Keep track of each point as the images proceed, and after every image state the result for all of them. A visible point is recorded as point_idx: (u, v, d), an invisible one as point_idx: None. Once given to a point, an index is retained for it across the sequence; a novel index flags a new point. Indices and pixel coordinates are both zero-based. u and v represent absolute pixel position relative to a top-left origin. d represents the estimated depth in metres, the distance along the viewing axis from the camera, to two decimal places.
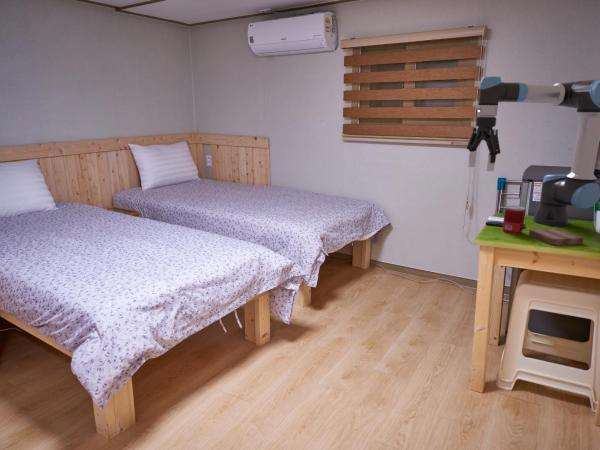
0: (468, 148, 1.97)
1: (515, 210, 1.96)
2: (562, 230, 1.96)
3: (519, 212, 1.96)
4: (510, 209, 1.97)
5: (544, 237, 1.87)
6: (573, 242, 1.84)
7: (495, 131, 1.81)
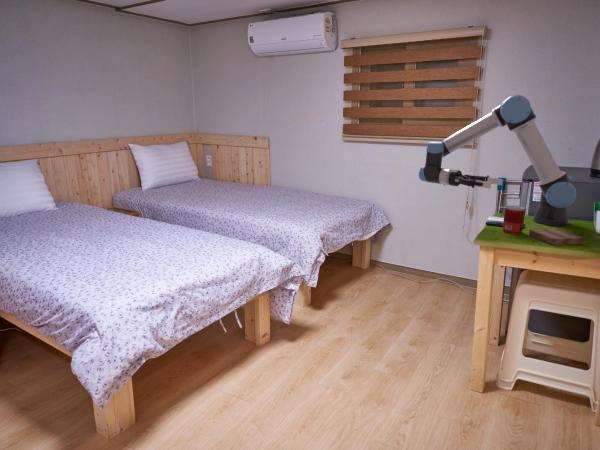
0: None
1: (515, 210, 1.96)
2: (562, 230, 1.96)
3: (519, 212, 1.96)
4: (510, 209, 1.97)
5: (544, 237, 1.87)
6: (573, 242, 1.84)
7: (456, 179, 2.08)
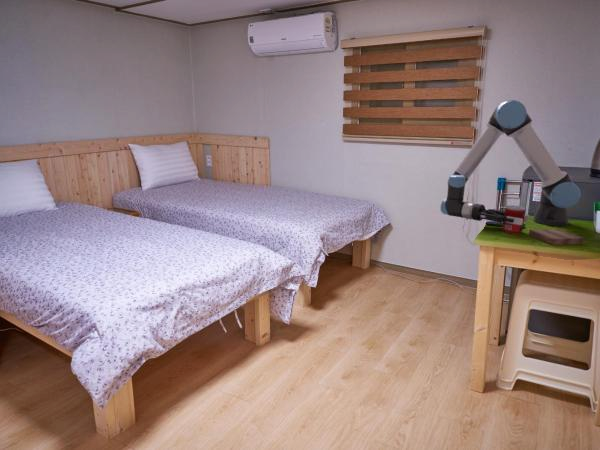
0: None
1: (515, 210, 1.96)
2: (562, 230, 1.96)
3: (519, 212, 1.96)
4: (510, 209, 1.97)
5: (544, 237, 1.87)
6: (573, 242, 1.84)
7: (482, 215, 2.03)
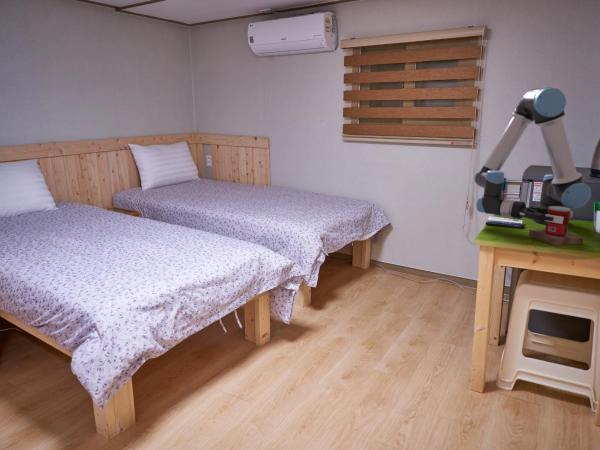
0: None
1: (560, 211, 1.84)
2: None
3: (564, 213, 1.84)
4: (554, 210, 1.85)
5: (544, 237, 1.87)
6: (573, 242, 1.84)
7: (521, 213, 1.92)
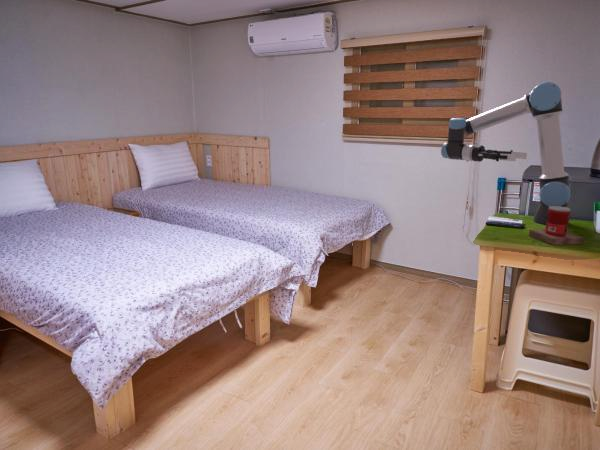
0: None
1: (560, 211, 1.84)
2: None
3: (564, 213, 1.84)
4: (554, 210, 1.85)
5: (544, 237, 1.87)
6: (573, 242, 1.84)
7: (479, 154, 2.08)
